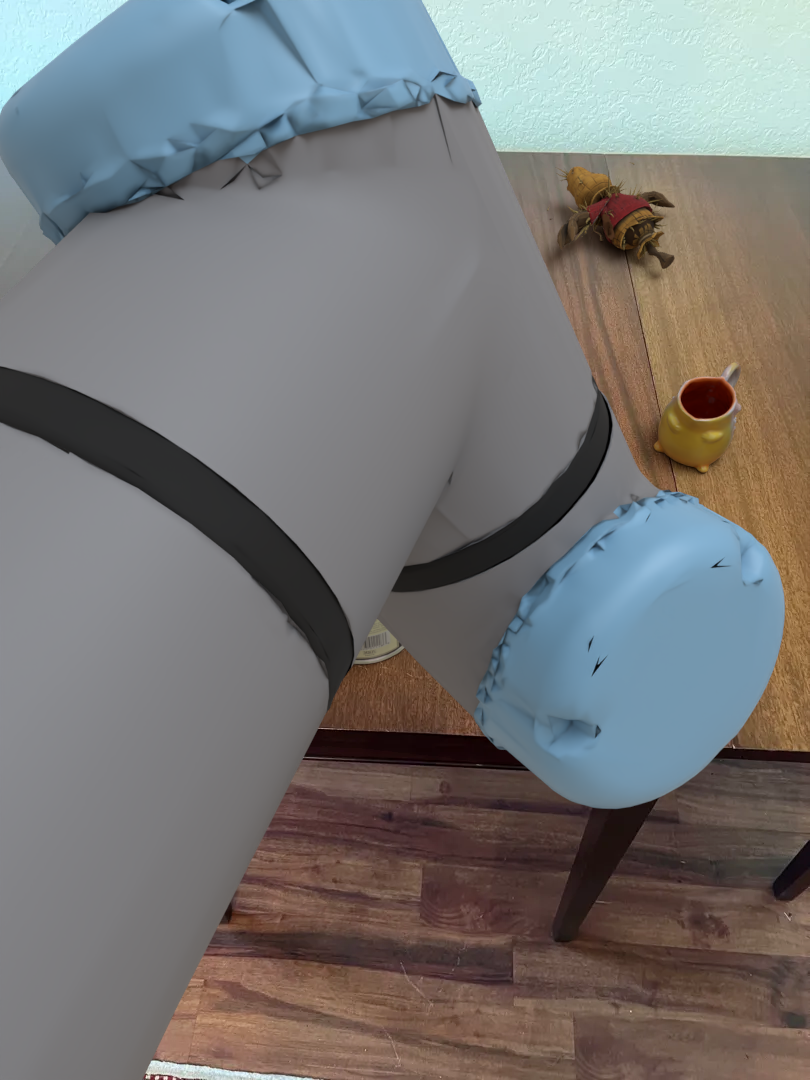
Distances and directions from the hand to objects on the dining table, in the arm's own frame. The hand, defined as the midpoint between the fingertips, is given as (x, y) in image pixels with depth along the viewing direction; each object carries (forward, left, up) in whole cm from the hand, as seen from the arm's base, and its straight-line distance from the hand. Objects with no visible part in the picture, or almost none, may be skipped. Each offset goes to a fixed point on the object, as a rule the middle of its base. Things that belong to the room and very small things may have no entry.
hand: (221, 379), depth 47 cm
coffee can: (+7, 0, -26) cm, 27 cm away
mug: (+39, +23, -26) cm, 52 cm away
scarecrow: (+32, +56, -26) cm, 69 cm away
